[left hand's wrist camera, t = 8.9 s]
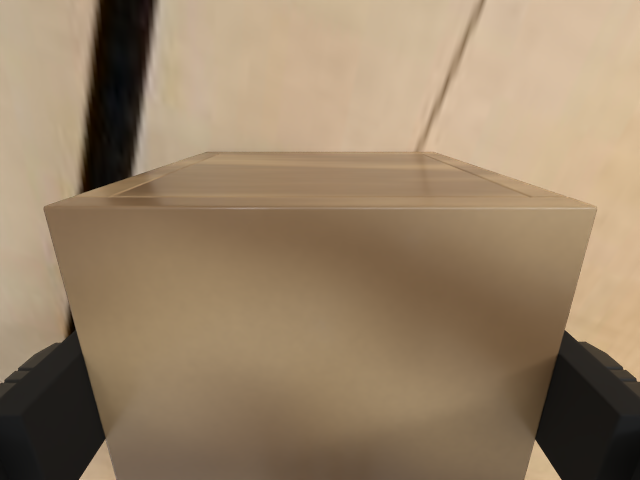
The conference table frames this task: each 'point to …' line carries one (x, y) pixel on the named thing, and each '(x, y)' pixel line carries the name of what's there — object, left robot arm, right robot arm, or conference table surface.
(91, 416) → the left robot arm
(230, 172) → the cabinet
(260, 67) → the conference table surface
